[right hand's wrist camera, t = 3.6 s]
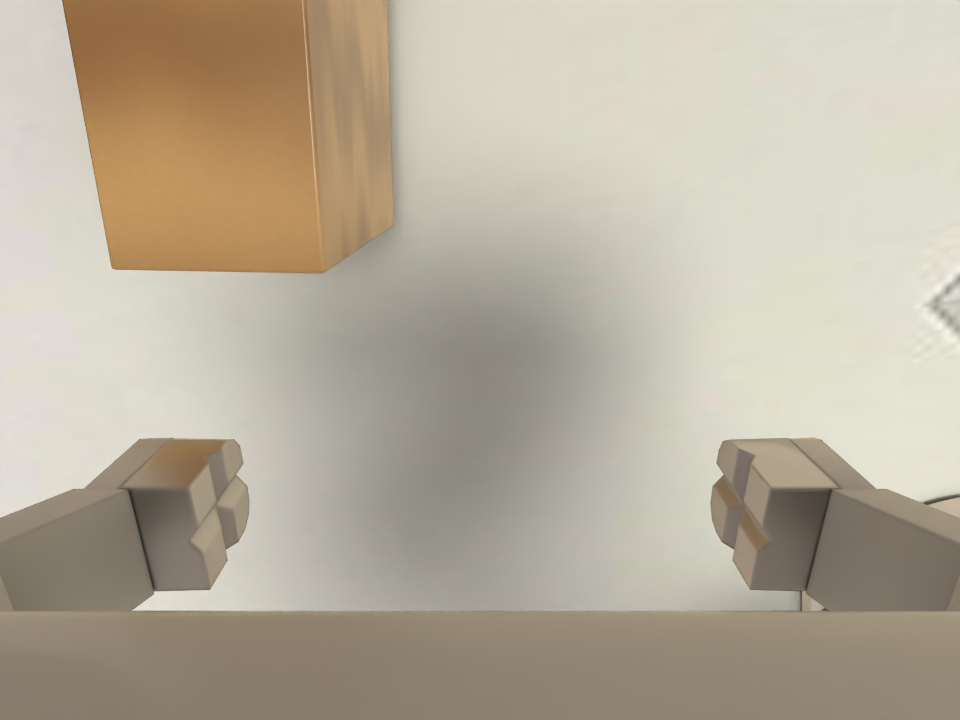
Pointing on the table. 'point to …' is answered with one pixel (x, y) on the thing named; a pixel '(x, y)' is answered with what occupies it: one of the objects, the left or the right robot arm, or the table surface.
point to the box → (236, 130)
